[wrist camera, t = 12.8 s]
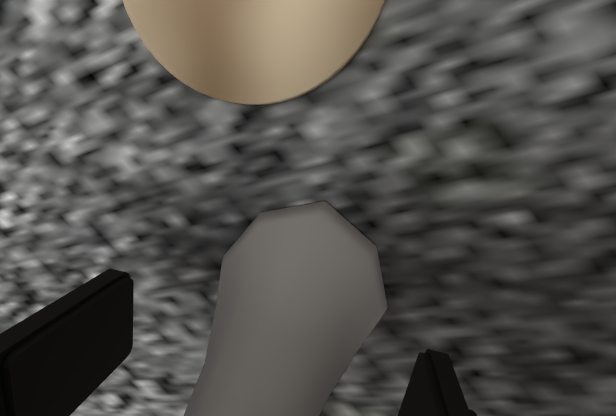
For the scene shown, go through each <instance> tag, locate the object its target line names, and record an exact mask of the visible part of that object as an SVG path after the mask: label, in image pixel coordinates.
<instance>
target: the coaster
mask: <svg viewBox="0 0 616 416" xmlns="http://www.w3.org/2000/svg"><path fill="white" fill-rule="evenodd" d="M384 2H385V0H123V3H124V6H125V8H126V11H127V13H128V16H129V18H130V20H131V22H132V24H133V26H134V28H135V30H136V31H137V33H138V35H139V36H140V38H141V39H142V41H143V42H144V44H145V46H146V47H147V48H148V49H149V51H150V52H151V53H152V54H153V56H154V57H155V58H156V59H157V61H158V62H159V63H161V64H162V65H163V66H164V67H165V68H166V69H167V70H168V71H169V72H170V73H171V74H172V75H174V76H175V77H176V78H177V79H179V80H180V81H181V82H183V83H184V84H186V85H188V86H189V87H191V88H193V89H194V90H196V91H198V92H200V93H203V94H205V95H207V96H210V97H212V98H215V99H219V100H223V101H227V102H232V103H241V104H250V105H264V104H274V103H279V102H285V101H288V100H291V99H294V98H297V97H300V96H302V95H304V94H306V93H308V92H310V91H312V90H314V89H316V88H318V87H319V86H321V85H322V84H324V83H325V82H327V81H328V80H330V79H331V78H332V77H333V76H334V75H336V74H337V73H338V72H339V71H340V70H341V69H343V68H344V67H345V66H346V64H347V63H348V62H349V61H350V60H351V59H352V58H353V57H354V56H355V54H356V53H357V52H358V51H359V49H360V48H361V46H362V45H363V43H364V42H365V41H366V39H367V38H368V36H369V34H370V32H371V31H372V29H373V27H374V25H375V23H376V21H377V19H378V17H379V15H380V12H381V10H382V7H383V5H384Z"/></svg>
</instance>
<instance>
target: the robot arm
mask: <svg viewBox="0 0 616 416" xmlns="http://www.w3.org/2000/svg"><path fill="white" fill-rule="evenodd" d="M132 345H133V280H132V279H131V278H130V275H129V274H128V273H126V272H122V271H118V270H114V269H109V270H106V271H105V272H103V273H101V274H100V275H98V276H96V277H95V278H93V279H91V280H90V281H88V282H86V283H85V284H83V285H81V286H80V287H78V288H76V289H75V290H73V291H71V292H70V293H68V294H66V295H65V296H63V297H61V298H60V299H58V300H56V301H55V302H53V303H51V304H50V305H48V306H46V307H44V308H43V309H41V310H39V311H38V312H36V313H34V314H33V315H31V316H29V317H28V318H26V319H24V320H23V321H21V322H19V323H18V324H16V325H14V326H13V327H11V328H9V329H8V330H6V331H4V332H3V333H1V334H0V416H70V415H71V414H72V413H73V412H74V411H75V410H76V409H77V408H78V407H79V405H80V404H81V403H82V402H83V401H84V400H85V399H86V398H87V397H88V396H89V395H90V394H91V393H92V392H93V391H94V390H95V389H96V388H97V387H98V386H99V385H100V384H101V383H102V382H103V381H104V380H105V379H106V378H107V377H108V376H109V375H110V374H111V373H112V372H113V371H114V370H115V369H116V368H117V367H118V366H119V365H120V364H121V363H122V362H123V361H124V360H125V359H126V358H127V356H128V355H129V353H130V352H131V349H132ZM398 416H477V414H476V413H475V412H474V411H473V410H469V409H468V407H467V404H466V401H465V398H464V396H463V393H462V390H461V387H460V385H459V382H458V379H457V376H456V374H455V371H454V368H453V365H452V363H451V360H450V357H449V355H448V354H446V353H442V352H438V351H434V350H430V349H427V350H426V352H425V353H419V355H418V357H417V360H416V363H415V366H414V369H413V372H412V375H411V378H410V381H409V384H408V387H407V390H406V393H405V396H404V399H403V402H402V405H401V408H400V411H399V414H398Z"/></svg>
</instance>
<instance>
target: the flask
mask: <svg viewBox="0 0 616 416" xmlns="http://www.w3.org/2000/svg"><path fill="white" fill-rule="evenodd" d="M387 308H388V306H387V301H386V295H385V290H384V284H383V279H382V273H381V268H380V262H379V257H378V251H377V247H376V246H375V245H374V244H373V243H372V242H371V241H370V240H369V239H367V238H366V237H365V236H364V235H363V234H362V233H361V232H359V231H358V230H357V229H356V228H355V227H354V226H353V225H352V224H350V223H349V222H348V221H347V220H346V219H345V218H344V217H343V216H341V215H340V214H339V213H338V212H337V211H336V210H335V209H334V208H332V207H331V206H330V205H329V204H328V203H327V202H326V201H323V202H317V203H311V204H305V205H300V206H294V207H288V208H283V209H277V210H271V211H266V212H260V214H259V215H258V216H257V217H256V218H255V219H254V221H253V222H252V223H251V224H250V225H249V226H248V228H247V229H246V230H245V231H244V232H243V234H242V235H241V236H240V237H239V238H238V239H237V241H236V242H235V243H234V244H233V245H232V247H231V248H230V249H229V250H228V251H227V252H226V254H225V255H224V256H223V261H222V266H221V273H220V280H219V288H218V296H217V303H216V308H215V313H214V318H213V323H212V329H211V334H210V339H209V344H208V349H207V354H206V359H205V364H204V366H203V369H202V371H201V374H200V376H199V379H198V381H197V384H196V386H195V389H194V391H193V394H192V396H191V399H190V401H189V404H188V406H187V409H186V411H185V414H184V416H320V413H321V410H322V408H323V405H324V403H325V402H326V400H327V399H328V397H329V396H330V394H331V392H332V391H333V389H334V388H335V386H336V384H337V383H338V381H339V380H340V378H341V377H342V375H343V373H344V372H345V370H346V369H347V367H348V365H349V364H350V362H351V361H352V359H353V357H354V356H355V354H356V353H357V351H358V350H359V348H360V347H361V345H362V344H363V343H364V341H365V340H366V338H367V337H368V336H369V334H370V333H371V331H372V330H373V329H374V327H375V326H376V325H377V323H378V322H379V320H380V319H381V318H382V316H383V314H384V313H385V311H386V310H387Z"/></svg>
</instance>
